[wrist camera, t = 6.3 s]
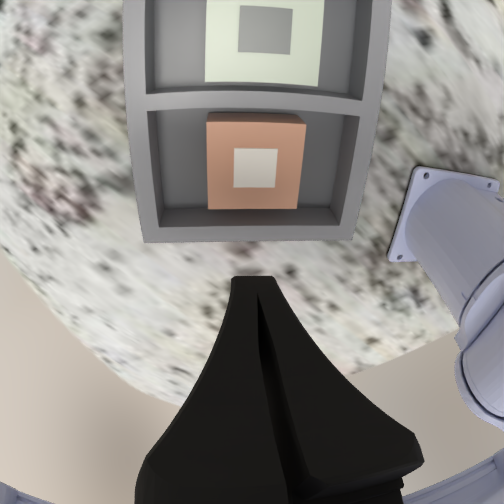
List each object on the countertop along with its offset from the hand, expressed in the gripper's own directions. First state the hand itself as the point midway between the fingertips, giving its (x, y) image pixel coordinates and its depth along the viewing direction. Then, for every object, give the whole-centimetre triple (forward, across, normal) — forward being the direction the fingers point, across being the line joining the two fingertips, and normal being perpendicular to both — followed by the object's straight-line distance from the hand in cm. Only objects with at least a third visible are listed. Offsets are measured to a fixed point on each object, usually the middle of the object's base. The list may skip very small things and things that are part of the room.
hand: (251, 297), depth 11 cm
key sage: (+7, 0, -8) cm, 11 cm away
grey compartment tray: (+10, 0, -8) cm, 13 cm away
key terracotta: (+9, -1, -2) cm, 9 cm away
